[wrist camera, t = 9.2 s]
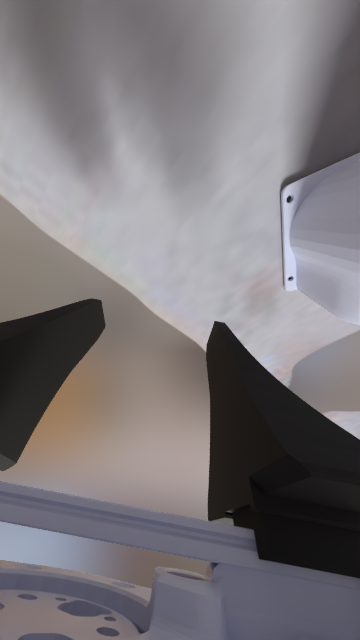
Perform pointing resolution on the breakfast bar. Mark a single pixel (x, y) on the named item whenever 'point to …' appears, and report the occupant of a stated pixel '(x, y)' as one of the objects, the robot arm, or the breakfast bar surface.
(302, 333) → the breakfast bar surface
